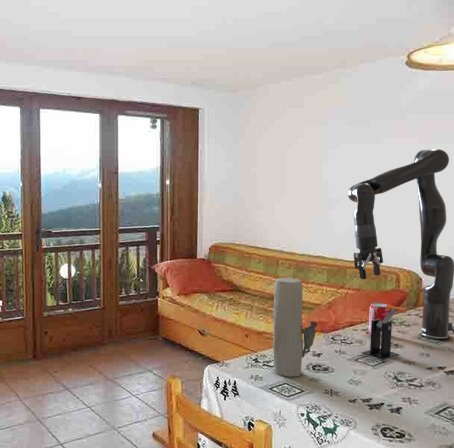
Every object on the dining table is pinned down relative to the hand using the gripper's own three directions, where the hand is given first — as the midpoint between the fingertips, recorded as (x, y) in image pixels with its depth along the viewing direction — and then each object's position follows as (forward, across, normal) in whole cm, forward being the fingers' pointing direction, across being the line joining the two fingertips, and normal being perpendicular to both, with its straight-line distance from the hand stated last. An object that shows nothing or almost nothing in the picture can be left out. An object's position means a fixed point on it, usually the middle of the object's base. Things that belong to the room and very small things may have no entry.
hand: (370, 277), depth 192 cm
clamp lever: (+13, -9, -12) cm, 20 cm away
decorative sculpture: (+21, -54, -7) cm, 58 cm away
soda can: (+26, +7, +5) cm, 27 cm away
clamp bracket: (+25, -15, -11) cm, 31 cm away
